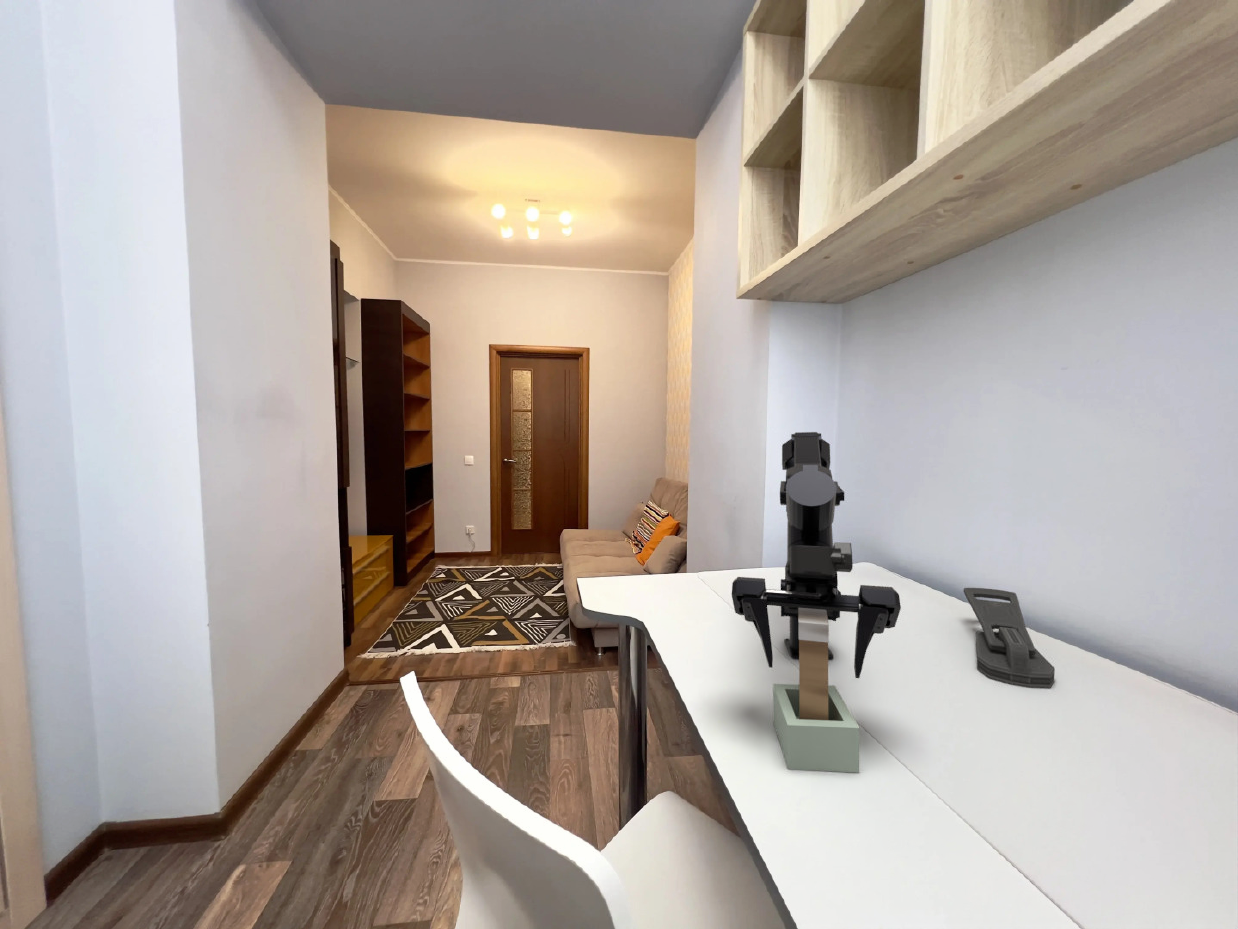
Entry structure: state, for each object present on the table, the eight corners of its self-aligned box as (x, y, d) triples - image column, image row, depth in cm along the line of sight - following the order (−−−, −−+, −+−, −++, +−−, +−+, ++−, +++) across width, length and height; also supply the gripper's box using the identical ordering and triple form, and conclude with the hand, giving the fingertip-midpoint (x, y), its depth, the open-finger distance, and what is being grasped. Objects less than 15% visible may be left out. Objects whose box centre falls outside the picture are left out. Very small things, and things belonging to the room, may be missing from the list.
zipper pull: (1019, 591, 90) (1063, 646, 68) (1018, 627, 91) (1061, 694, 69) (959, 585, 94) (982, 635, 72) (958, 620, 95) (981, 680, 73)
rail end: (799, 719, 62) (798, 607, 61) (826, 724, 61) (826, 609, 60) (799, 742, 57) (798, 622, 56) (828, 747, 56) (828, 624, 55)
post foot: (773, 722, 64) (773, 683, 64) (834, 724, 63) (834, 685, 63) (787, 769, 55) (787, 725, 55) (859, 772, 54) (859, 728, 54)
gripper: (732, 514, 64) (721, 633, 55) (898, 519, 58) (919, 654, 48) (739, 559, 72) (731, 670, 63) (886, 568, 66) (902, 692, 56)
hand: (812, 671), depth 57 cm, fingers open, 9 cm apart
